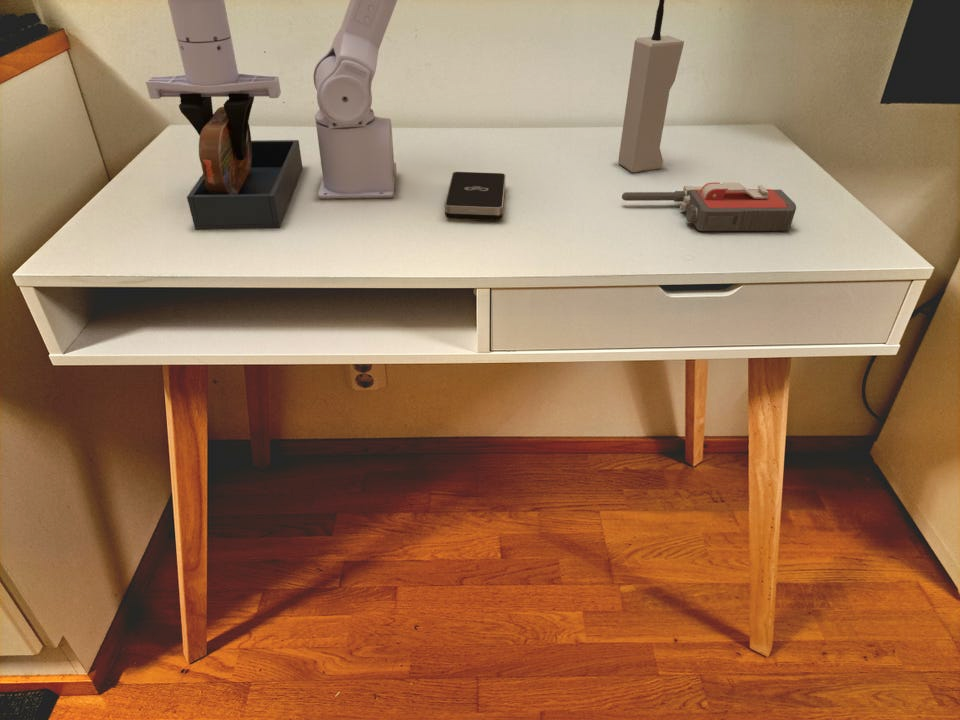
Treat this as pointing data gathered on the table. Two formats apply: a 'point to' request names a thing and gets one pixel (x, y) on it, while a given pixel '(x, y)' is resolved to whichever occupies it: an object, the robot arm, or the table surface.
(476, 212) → the external hard drive
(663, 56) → the vintage mobile phone
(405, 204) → the table surface
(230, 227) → the bin
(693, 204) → the walkie-talkie
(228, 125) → the tin
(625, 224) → the table surface
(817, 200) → the table surface
